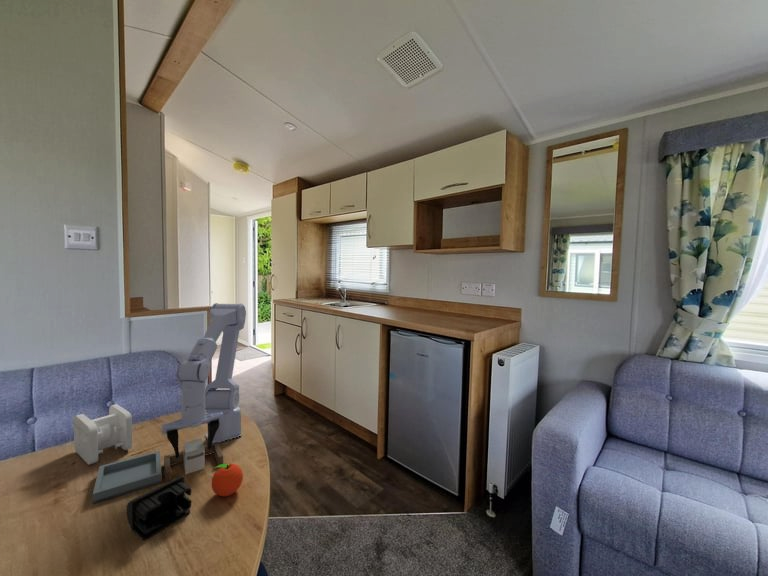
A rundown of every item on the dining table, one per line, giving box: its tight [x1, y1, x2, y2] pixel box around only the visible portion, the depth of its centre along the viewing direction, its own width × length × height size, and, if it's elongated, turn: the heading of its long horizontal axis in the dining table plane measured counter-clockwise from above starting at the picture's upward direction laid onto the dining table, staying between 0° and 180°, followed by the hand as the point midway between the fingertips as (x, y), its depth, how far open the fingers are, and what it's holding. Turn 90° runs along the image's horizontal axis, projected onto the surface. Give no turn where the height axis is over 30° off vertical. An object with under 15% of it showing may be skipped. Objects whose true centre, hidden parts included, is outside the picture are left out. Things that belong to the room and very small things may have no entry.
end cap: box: [126, 476, 193, 541], centre depth 69 cm, size 10×7×7 cm
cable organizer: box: [72, 403, 133, 465], centre depth 93 cm, size 15×11×12 cm
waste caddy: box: [182, 437, 206, 475], centre depth 87 cm, size 4×7×6 cm, turn 37°
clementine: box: [211, 463, 244, 497], centre depth 77 cm, size 8×7×7 cm
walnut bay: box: [163, 442, 224, 484], centre depth 88 cm, size 13×9×2 cm
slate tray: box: [92, 450, 162, 505], centre depth 82 cm, size 13×13×2 cm
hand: (193, 451), depth 88 cm, fingers open, 7 cm apart
